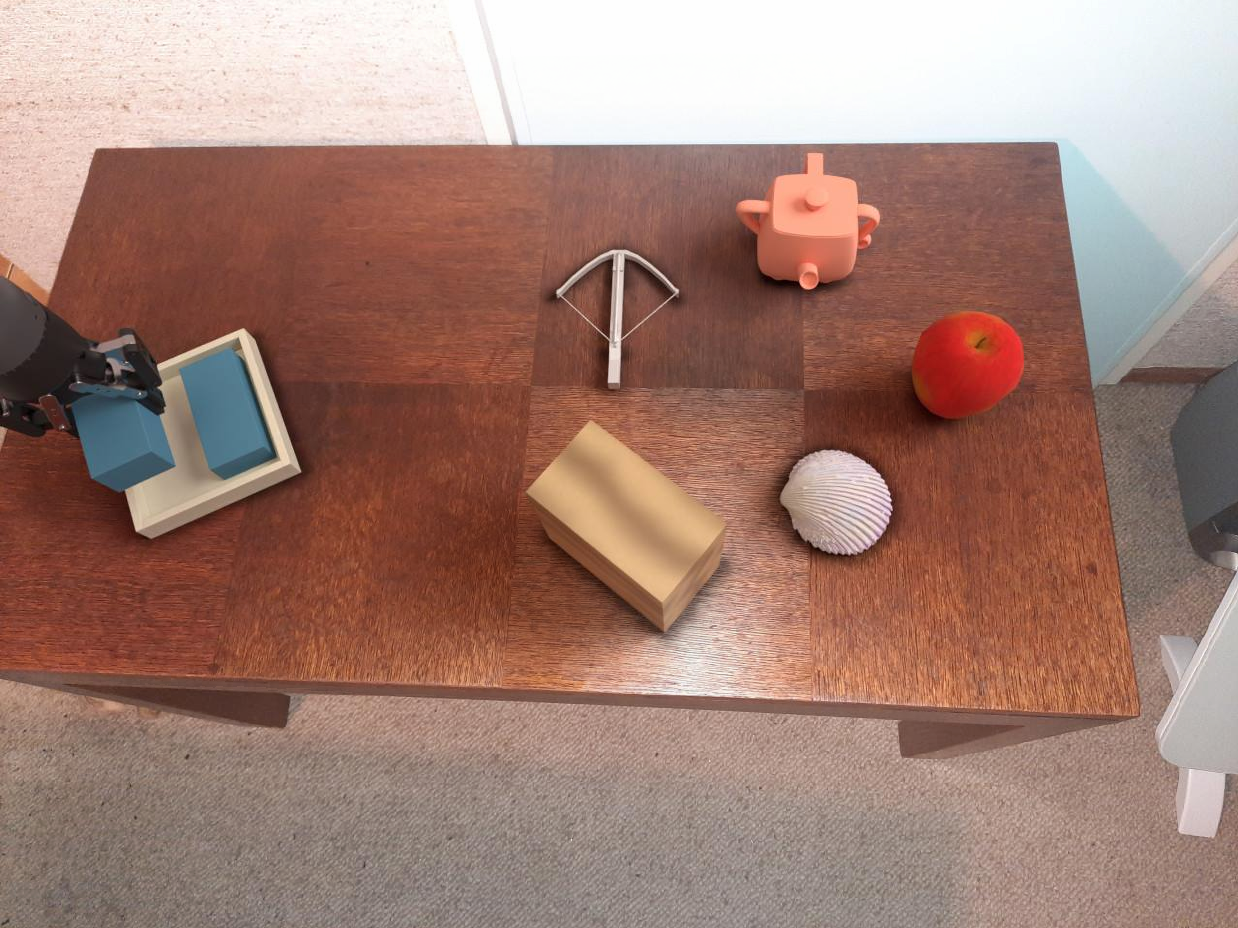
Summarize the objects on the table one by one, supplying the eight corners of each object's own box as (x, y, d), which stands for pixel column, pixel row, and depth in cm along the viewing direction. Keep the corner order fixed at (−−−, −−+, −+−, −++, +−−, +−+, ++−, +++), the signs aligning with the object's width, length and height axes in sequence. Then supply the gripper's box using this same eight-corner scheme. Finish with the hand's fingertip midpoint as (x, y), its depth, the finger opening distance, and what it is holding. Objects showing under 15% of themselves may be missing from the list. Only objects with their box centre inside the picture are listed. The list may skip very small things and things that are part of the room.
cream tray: (151, 539, 83) (135, 531, 81) (113, 400, 89) (97, 389, 87) (301, 472, 85) (290, 463, 82) (255, 339, 90) (243, 327, 88)
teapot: (798, 325, 87) (812, 273, 78) (725, 247, 91) (730, 188, 82) (884, 265, 89) (908, 207, 80) (809, 190, 92) (824, 127, 83)
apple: (1005, 374, 84) (1056, 311, 72) (976, 452, 81) (1024, 400, 70) (913, 339, 86) (949, 273, 74) (882, 415, 83) (914, 358, 72)
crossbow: (561, 259, 92) (559, 247, 90) (678, 258, 91) (679, 246, 90) (551, 389, 86) (548, 379, 84) (677, 389, 85) (677, 379, 83)
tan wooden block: (664, 633, 77) (662, 603, 64) (549, 538, 81) (524, 492, 68) (719, 565, 79) (727, 523, 66) (604, 476, 83) (590, 419, 70)
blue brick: (225, 480, 84) (209, 470, 82) (194, 382, 88) (178, 369, 86) (277, 457, 85) (263, 446, 82) (244, 360, 89) (230, 347, 86)
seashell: (774, 440, 79) (886, 430, 77) (781, 461, 84) (886, 452, 82) (779, 546, 76) (898, 539, 73) (786, 561, 81) (897, 556, 78)
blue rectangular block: (119, 493, 77) (90, 478, 74) (88, 386, 81) (59, 367, 78) (176, 466, 78) (151, 451, 74) (143, 362, 82) (117, 342, 78)
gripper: (-96, 412, 62) (62, 486, 78) (95, 332, 63) (212, 421, 79) (-110, 330, 64) (46, 418, 80) (74, 255, 66) (191, 356, 81)
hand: (128, 419), depth 79 cm, fingers closed on blue rectangular block, 5 cm apart
